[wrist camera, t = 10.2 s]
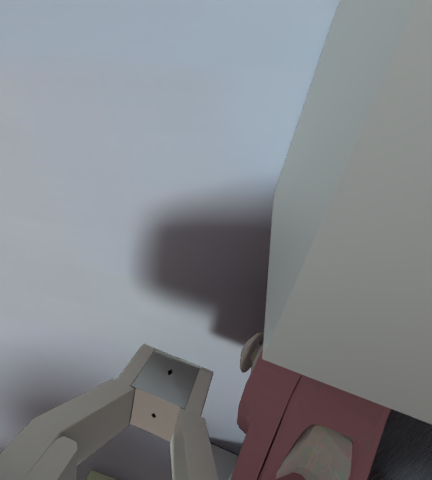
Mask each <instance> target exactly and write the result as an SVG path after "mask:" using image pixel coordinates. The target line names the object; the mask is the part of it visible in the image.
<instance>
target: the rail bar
mask: <svg viewBox="0 0 432 480" xmlns="http://www.w3.org/2000/svg"><path fill="white" fill-rule="evenodd" d="M367 480H432V424H429V423H426V422H424V421H421V420H419V419H416V418H413V417H411V416H408V415H406V414H403V413H401V412H398V411H395V410H393V409H391V411H390V413H389V415H388V418H387V420H386V423H385V426H384V429H383V432H382V435H381V439H380V442H379V445H378V448H377V451H376V454H375V457H374V460H373V463H372V466H371V470H370V473H369V476H368V478H367Z"/></svg>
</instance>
